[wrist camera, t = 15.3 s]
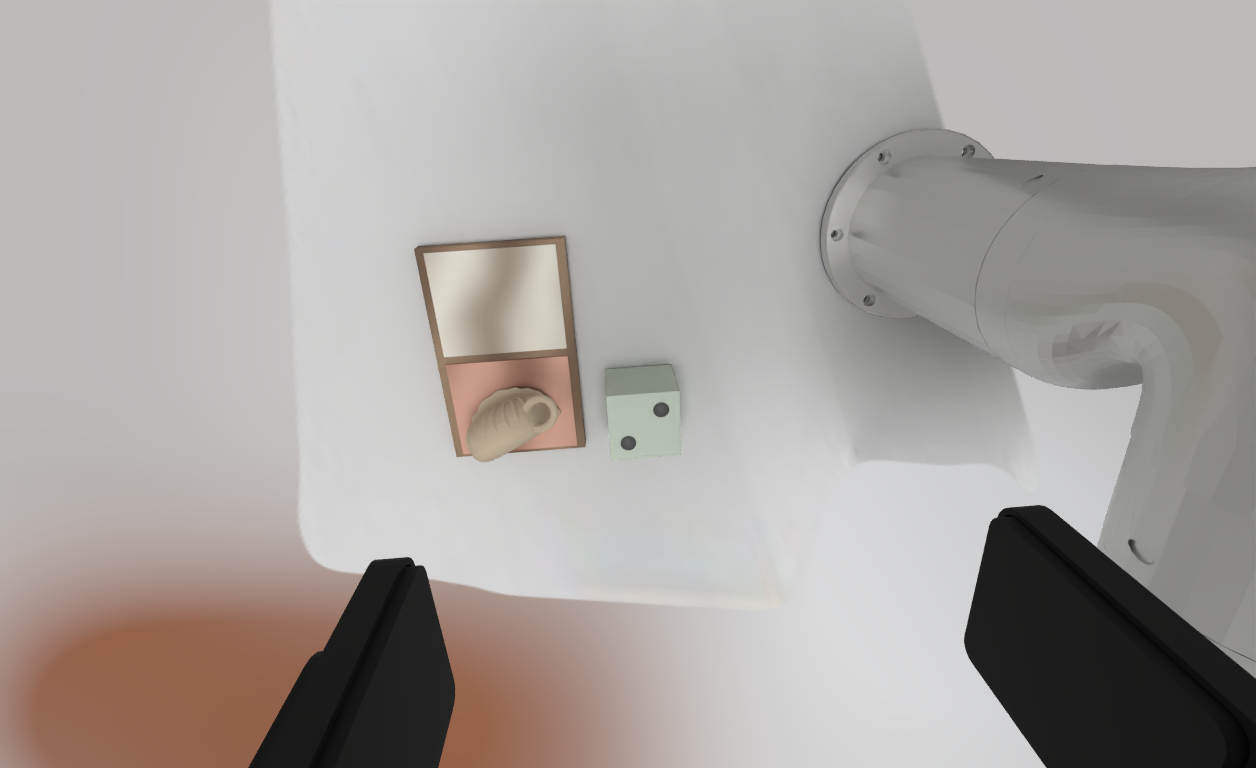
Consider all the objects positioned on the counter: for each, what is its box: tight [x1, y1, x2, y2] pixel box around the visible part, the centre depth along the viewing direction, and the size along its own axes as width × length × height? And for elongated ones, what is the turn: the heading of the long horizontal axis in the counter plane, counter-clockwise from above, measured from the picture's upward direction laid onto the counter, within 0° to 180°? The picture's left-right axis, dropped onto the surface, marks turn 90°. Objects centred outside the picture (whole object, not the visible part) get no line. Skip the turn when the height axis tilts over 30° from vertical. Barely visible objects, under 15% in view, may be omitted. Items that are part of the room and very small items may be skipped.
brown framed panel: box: [414, 236, 586, 457], centre depth 42 cm, size 10×16×1 cm, turn 3°
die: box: [605, 364, 681, 460], centre depth 42 cm, size 5×5×5 cm
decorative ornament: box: [466, 387, 562, 462], centre depth 41 cm, size 4×8×5 cm, turn 118°
